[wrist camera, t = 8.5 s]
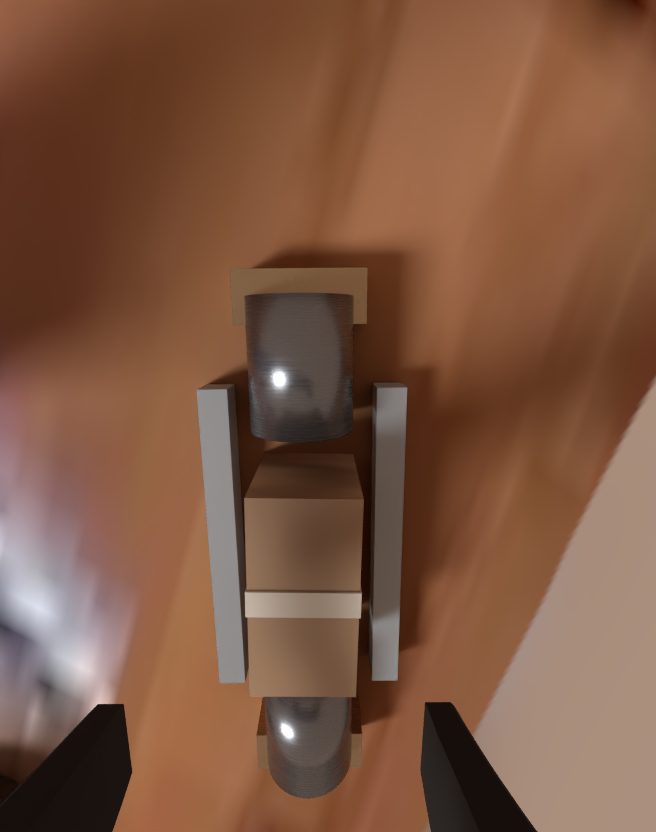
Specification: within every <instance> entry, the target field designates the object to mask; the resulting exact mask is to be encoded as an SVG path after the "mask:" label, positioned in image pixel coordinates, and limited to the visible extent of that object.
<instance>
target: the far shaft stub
mask: <svg viewBox="0 0 656 832" xmlns="http://www.w3.org/2000/svg"><path fill="white" fill-rule="evenodd" d="M257 752H258V769H269V770H270V773H271V775H272V777H273V779H274V781H275V782H276V784H277V785H278V786H279V787H280V788H281V789H282V790H284V791H285V792H287V793H288V794H290V795H293V796H295V797H299V798H316V797H320V796H323V795H325V794H327V793H329V792H331V791H332V790H333V789H335V788H336V787H337V786H338V785H339V784H340V783H341V782H342V780H343V779H344V777H345V776H346V774H347V772H348V769H349V767H362V728H361V718H360V707H359V697H265V698H263V699H262V706H261V712H260V718H259V724H258V730H257Z"/></svg>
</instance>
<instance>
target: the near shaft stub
mask: <svg viewBox="0 0 656 832" xmlns="http://www.w3.org/2000/svg"><path fill="white" fill-rule="evenodd" d="M230 282H231V299H232V316H233V325H246V343H247V363H248V382H249V402H250V422H251V433H252V434H253V435H255V436H257V437H259V438H262V439H266V440H271V441H279V442H316V441H324V440H330V439H335V438H339V437H342V436H345V435H347V434H349V433H350V432H352V430H353V324H367V268H245V269H230Z"/></svg>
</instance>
